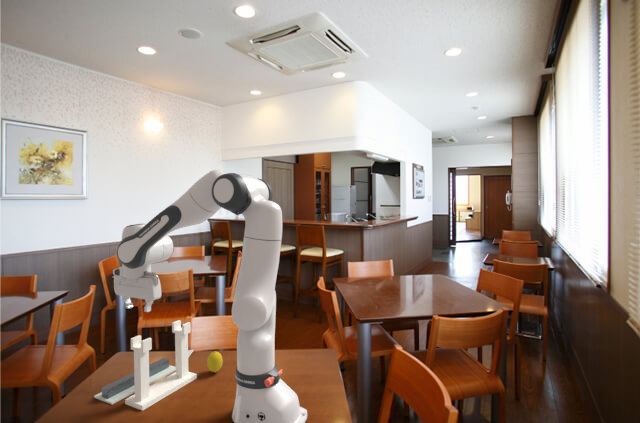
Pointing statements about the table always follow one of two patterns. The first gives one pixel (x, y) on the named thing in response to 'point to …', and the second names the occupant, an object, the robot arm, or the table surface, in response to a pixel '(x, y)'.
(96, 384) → the table surface
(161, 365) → the rail
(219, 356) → the lemon
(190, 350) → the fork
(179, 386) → the rack
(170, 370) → the mat
